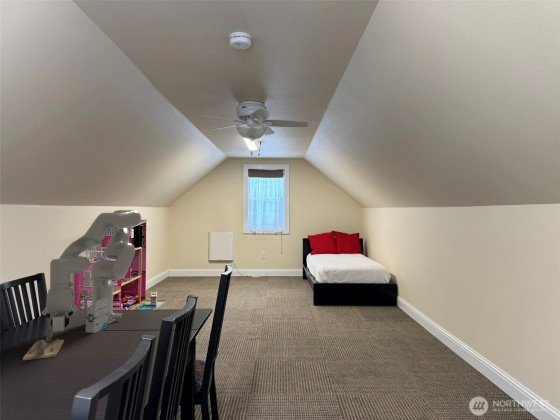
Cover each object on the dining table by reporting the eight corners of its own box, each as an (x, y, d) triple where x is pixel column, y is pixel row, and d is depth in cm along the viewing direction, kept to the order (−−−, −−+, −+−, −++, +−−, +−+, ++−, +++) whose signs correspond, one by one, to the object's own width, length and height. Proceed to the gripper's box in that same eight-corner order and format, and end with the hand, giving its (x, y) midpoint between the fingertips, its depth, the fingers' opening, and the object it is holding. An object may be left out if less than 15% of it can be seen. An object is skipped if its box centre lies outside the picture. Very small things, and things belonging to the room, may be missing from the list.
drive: (67, 324, 151) (67, 310, 151) (63, 330, 143) (63, 316, 143) (56, 325, 149) (56, 311, 149) (52, 331, 142) (52, 317, 142)
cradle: (63, 342, 139) (64, 327, 139) (55, 356, 124) (56, 340, 125) (35, 345, 135) (36, 330, 135) (22, 360, 120) (23, 343, 121)
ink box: (98, 326, 160) (100, 296, 161) (107, 327, 159) (108, 297, 160) (84, 332, 152) (86, 300, 152) (94, 333, 151) (95, 301, 151)
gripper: (83, 282, 153) (82, 321, 153) (39, 286, 146) (39, 326, 146) (80, 286, 146) (80, 327, 146) (35, 289, 139) (34, 332, 139)
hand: (60, 326), depth 146 cm, fingers closed on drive, 4 cm apart
